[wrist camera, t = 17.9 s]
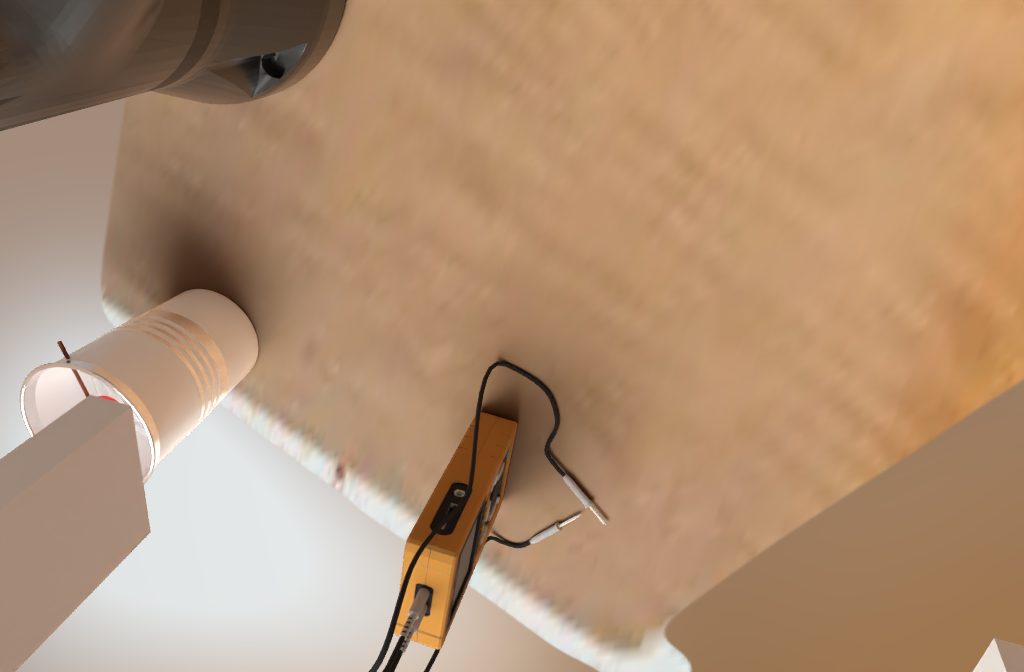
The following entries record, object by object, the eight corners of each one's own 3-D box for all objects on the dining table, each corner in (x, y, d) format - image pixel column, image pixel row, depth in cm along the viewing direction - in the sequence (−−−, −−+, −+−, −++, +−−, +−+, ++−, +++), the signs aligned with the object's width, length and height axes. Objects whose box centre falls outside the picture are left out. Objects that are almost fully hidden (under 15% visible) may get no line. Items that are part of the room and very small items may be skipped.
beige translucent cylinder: (134, 276, 52) (-15, 359, 42) (236, 258, 49) (104, 343, 39) (193, 402, 56) (70, 506, 45) (291, 392, 53) (184, 501, 43)
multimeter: (593, 571, 53) (525, 870, 36) (458, 529, 55) (331, 797, 38) (644, 399, 46) (590, 671, 29) (487, 356, 48) (347, 589, 31)
